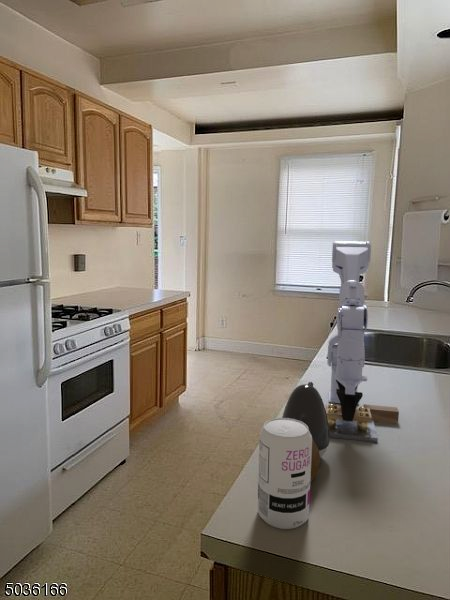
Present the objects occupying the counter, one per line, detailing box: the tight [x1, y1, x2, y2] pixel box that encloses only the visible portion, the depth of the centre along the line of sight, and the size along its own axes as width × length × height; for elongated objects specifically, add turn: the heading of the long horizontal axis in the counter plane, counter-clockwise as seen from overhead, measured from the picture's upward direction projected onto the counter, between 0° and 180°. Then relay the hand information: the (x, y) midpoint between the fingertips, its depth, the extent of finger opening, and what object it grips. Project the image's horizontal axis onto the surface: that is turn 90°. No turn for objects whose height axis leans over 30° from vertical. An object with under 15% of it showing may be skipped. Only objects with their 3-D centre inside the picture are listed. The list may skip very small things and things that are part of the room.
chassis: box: [327, 403, 379, 443], centre depth 102 cm, size 10×13×5 cm
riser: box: [363, 403, 400, 424], centre depth 108 cm, size 3×8×3 cm, turn 77°
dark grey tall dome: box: [281, 381, 331, 459], centre depth 88 cm, size 10×10×15 cm
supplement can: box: [257, 417, 312, 530], centre depth 69 cm, size 8×8×15 cm
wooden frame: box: [325, 403, 372, 423], centre depth 102 cm, size 6×10×1 cm, turn 77°
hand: (347, 413), depth 102 cm, fingers open, 7 cm apart
